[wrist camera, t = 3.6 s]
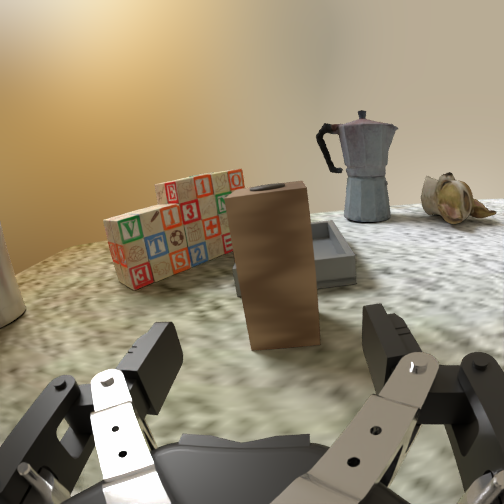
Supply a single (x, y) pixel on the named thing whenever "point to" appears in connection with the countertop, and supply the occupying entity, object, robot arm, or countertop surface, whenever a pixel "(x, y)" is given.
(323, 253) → the charcoal tray
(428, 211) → the ceramic sculpture
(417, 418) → the robot arm
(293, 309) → the walnut block
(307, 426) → the countertop surface
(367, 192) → the moka pot
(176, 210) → the stack of blocks
